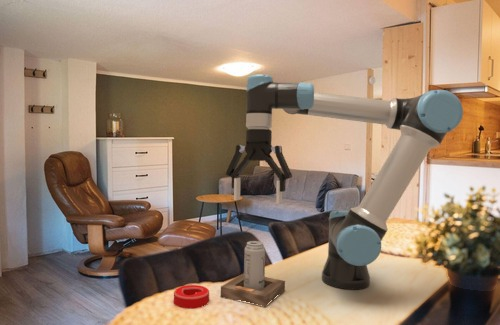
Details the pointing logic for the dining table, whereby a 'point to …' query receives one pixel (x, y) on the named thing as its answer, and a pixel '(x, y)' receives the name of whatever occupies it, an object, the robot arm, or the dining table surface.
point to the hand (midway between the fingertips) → (257, 201)
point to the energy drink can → (254, 265)
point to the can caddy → (263, 297)
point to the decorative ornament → (191, 296)
